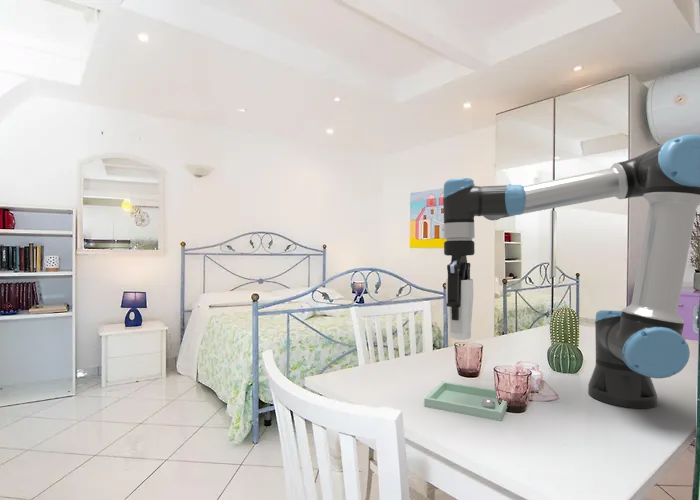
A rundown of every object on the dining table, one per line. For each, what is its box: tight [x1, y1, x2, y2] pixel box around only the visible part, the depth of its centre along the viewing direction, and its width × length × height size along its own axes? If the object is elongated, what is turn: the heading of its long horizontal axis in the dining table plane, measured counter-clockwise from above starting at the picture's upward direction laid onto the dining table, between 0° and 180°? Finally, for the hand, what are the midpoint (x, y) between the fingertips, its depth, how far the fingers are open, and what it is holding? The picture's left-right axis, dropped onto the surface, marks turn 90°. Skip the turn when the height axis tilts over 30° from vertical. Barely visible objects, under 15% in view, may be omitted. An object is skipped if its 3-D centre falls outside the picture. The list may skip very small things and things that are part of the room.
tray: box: [423, 380, 508, 422], centre depth 103 cm, size 18×15×2 cm
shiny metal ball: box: [481, 398, 495, 410], centre depth 97 cm, size 3×3×3 cm
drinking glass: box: [445, 278, 474, 341], centre depth 104 cm, size 7×7×15 cm
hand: (460, 330), depth 104 cm, fingers closed on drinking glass, 6 cm apart
